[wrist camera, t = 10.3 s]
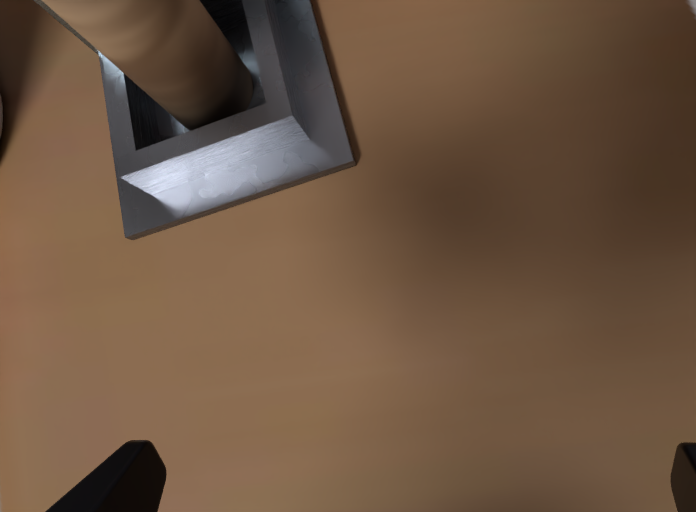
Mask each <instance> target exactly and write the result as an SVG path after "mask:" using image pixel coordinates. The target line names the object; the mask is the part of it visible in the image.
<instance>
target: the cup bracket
mask: <svg viewBox="0 0 696 512" xmlns="http://www.w3.org/2000/svg"><path fill="white" fill-rule="evenodd" d="M34 1H35V2H36V3H37V4H38V5H40V6H41V7H42V8H43V9H44V10H46V11H47V12H48V13H49V14H50V15H51V16H53V17H54V18H55V19H56V20H57V21H59V22H60V23H61V24H62V25H63V26H65V27H66V28H67V29H68V30H69V31H70V32H72V33H73V34H74V35H75V36H76V37H78V38H79V39H80V40H81V41H82V42H84V43H85V44H86V45H87V46H88V47H89V48H91V49H92V50H93V51H94V52H95V53H97V54H98V55H99V59H100V66H101V73H102V80H103V87H104V94H105V101H106V108H107V115H108V122H109V129H110V136H111V143H112V150H113V157H114V164H115V171H116V178H117V185H118V192H119V199H120V206H121V213H122V220H123V227H124V234H125V238H128V239H130V240H135V239H138V238H141V237H144V236H147V235H150V234H153V233H156V232H159V231H162V230H165V229H168V228H171V227H174V226H177V225H180V224H183V223H186V222H189V221H192V220H195V219H198V218H200V217H203V216H206V215H209V214H212V213H215V212H218V211H221V210H224V209H227V208H230V207H233V206H236V205H239V204H242V203H245V202H248V201H251V200H254V199H257V198H260V197H263V196H266V195H269V194H272V193H275V192H278V191H281V190H284V189H287V188H290V187H293V186H296V185H299V184H302V183H305V182H308V181H311V180H314V179H317V178H320V177H323V176H326V175H329V174H332V173H335V172H338V171H341V170H344V169H347V168H350V167H353V166H356V163H355V159H354V155H353V152H352V148H351V145H350V141H349V137H348V134H347V130H346V126H345V123H344V119H343V116H342V112H341V108H340V105H339V101H338V97H337V94H336V90H335V87H334V83H333V79H332V76H331V72H330V68H329V65H328V61H327V58H326V54H325V50H324V47H323V43H322V39H321V36H320V32H319V28H318V25H317V21H316V18H315V14H314V10H313V7H312V3H311V0H200V2H201V3H202V5H203V6H204V7H205V9H206V10H207V12H208V13H209V15H210V16H211V17H212V19H213V20H214V22H215V23H216V24H217V26H218V27H219V29H220V30H221V31H222V33H223V34H224V36H225V37H226V38H227V40H228V41H229V43H230V44H231V46H232V47H233V48H234V50H235V51H236V53H237V54H238V55H239V57H240V58H241V60H242V61H243V62H244V64H245V65H246V67H247V68H248V70H249V72H250V74H251V76H252V80H253V94H252V98H251V101H250V104H249V106H248V108H247V110H246V111H244V112H241V113H238V114H235V115H233V116H230V117H227V118H224V119H222V120H219V121H216V122H213V123H211V124H208V125H205V126H202V127H200V128H197V129H194V130H192V131H190V130H188V129H187V128H185V127H184V126H183V125H182V124H181V123H179V122H178V121H177V120H176V119H175V118H174V117H173V116H172V115H170V114H169V113H168V112H167V111H166V110H165V109H164V108H163V107H161V106H160V105H159V104H158V103H157V102H156V101H155V100H154V99H152V98H151V97H150V96H149V95H148V94H147V93H146V92H144V91H143V90H142V89H141V88H140V87H139V86H138V85H137V84H135V83H134V82H133V81H132V80H131V79H130V78H129V77H128V76H126V75H125V74H124V73H123V72H122V71H121V70H120V69H119V68H117V67H116V66H115V65H114V64H113V63H112V62H111V61H110V60H108V59H107V58H106V57H105V56H104V55H103V54H102V53H101V52H99V51H98V50H97V49H96V48H95V47H94V46H93V45H92V44H90V43H89V42H88V41H87V40H86V39H85V38H84V37H82V36H81V35H80V34H79V33H78V32H77V31H76V30H75V29H73V28H72V27H71V26H70V25H69V24H68V23H67V22H66V21H64V20H63V19H62V18H61V17H60V16H59V15H58V14H57V13H55V12H54V11H53V10H52V9H51V8H50V7H49V6H48V5H46V4H45V3H44V2H43V1H42V0H34Z"/></svg>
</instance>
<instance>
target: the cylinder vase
mask: <svg viewBox="0 0 696 512" xmlns="http://www.w3.org/2000/svg"><path fill="white" fill-rule="evenodd" d="M2 124H3V108H2V100H1V95H0V138H1V132H2Z"/></svg>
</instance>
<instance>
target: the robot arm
mask: <svg viewBox="0 0 696 512" xmlns="http://www.w3.org/2000/svg"><path fill="white" fill-rule="evenodd" d="M165 481H166V467H165V465H164V463H163V461H162V459H161V458H160V456H159V454H158V452H157V450H156V449H155V447H154V445H153V444H152V443H151V442H150V441H148V440H131V441H128V442H126V443H125V444H123V445H122V446H121V447H120V448H119V449H118V450H116V451H115V452H114V453H113V454H112V455H111V456H109V457H108V458H107V459H106V460H105V461H104V462H103V463H101V464H100V465H99V466H98V467H97V468H96V469H94V470H93V471H92V472H91V473H90V474H89V475H87V476H86V477H85V478H84V479H83V480H82V481H80V482H79V483H78V484H77V485H76V486H75V487H73V488H72V489H71V490H70V491H69V492H68V493H66V494H65V495H64V496H63V497H62V498H61V499H59V500H58V501H57V502H56V503H55V504H54V505H53V506H51V507H50V508H49V509H48V510H47V511H46V512H157V511H158V508H159V504H160V500H161V496H162V493H163V489H164V485H165ZM671 488H672V492H673V496H674V500H675V503H676V507H677V511H678V512H696V443H680V444H679V445H678V446H677V449H676V453H675V458H674V462H673V467H672V472H671Z"/></svg>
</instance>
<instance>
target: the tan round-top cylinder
mask: <svg viewBox="0 0 696 512" xmlns="http://www.w3.org/2000/svg"><path fill="white" fill-rule="evenodd" d="M42 1H43V2H44V3H45V4H46V5H48V6H49V7H50V8H51V9H52V10H53V11H54V12H55V13H57V14H58V15H59V16H60V17H61V18H62V19H63V20H64V21H66V22H67V23H68V24H69V25H70V26H71V27H72V28H73V29H75V30H76V31H77V32H78V33H79V34H80V35H81V36H82V37H84V38H85V39H86V40H87V41H88V42H89V43H90V44H92V45H93V46H94V47H95V48H96V49H97V50H98V51H99V52H101V53H102V54H103V55H104V56H105V57H106V58H107V59H108V60H110V61H111V62H112V63H113V64H114V65H115V66H116V67H117V68H119V69H120V70H121V71H122V72H123V73H124V74H125V75H126V76H128V77H129V78H130V79H131V80H132V81H133V82H134V83H135V84H137V85H138V86H139V87H140V88H141V89H142V90H143V91H144V92H146V93H147V94H148V95H149V96H150V97H151V98H152V99H154V100H155V101H156V102H157V103H158V104H159V105H160V106H161V107H163V108H164V109H165V110H166V111H167V112H168V113H169V114H170V115H172V116H173V117H174V118H175V119H176V120H177V121H178V122H179V123H181V124H182V125H183V126H184V127H185V128H187V129H188V130H190V131H192V130H194V129H197V128H200V127H202V126H205V125H208V124H211V123H213V122H216V121H219V120H222V119H224V118H227V117H230V116H233V115H235V114H238V113H241V112H244V111H246V110H247V108H248V106H249V104H250V101H251V98H252V94H253V80H252V76H251V74H250V72H249V70H248V68H247V67H246V65H245V64H244V62H243V61H242V60H241V58H240V57H239V55H238V54H237V53H236V51H235V50H234V48H233V47H232V46H231V44H230V43H229V41H228V40H227V38H226V37H225V36H224V34H223V33H222V31H221V30H220V29H219V27H218V26H217V24H216V23H215V22H214V20H213V19H212V17H211V16H210V15H209V13H208V12H207V10H206V9H205V7H204V6H203V5H202V3H201V2H200V0H42Z"/></svg>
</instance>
